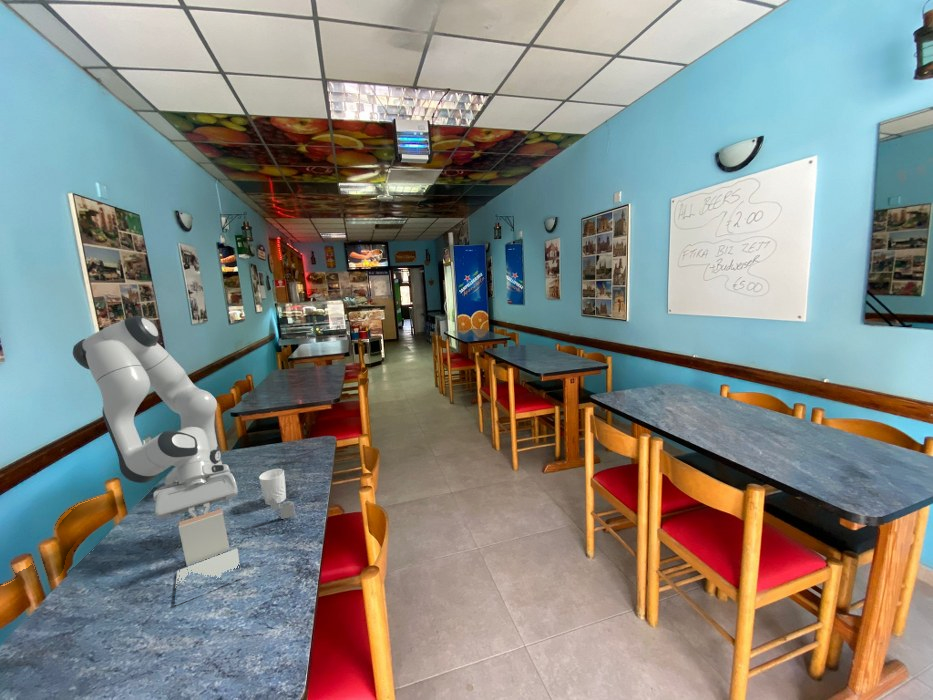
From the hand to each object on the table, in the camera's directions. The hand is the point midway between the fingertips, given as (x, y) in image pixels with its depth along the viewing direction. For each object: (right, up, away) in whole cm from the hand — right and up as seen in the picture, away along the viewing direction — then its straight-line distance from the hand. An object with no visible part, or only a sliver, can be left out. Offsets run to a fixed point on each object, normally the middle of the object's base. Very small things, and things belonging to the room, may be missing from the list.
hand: (200, 521), depth 111 cm
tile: (+4, -9, -3) cm, 10 cm away
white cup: (+10, -4, +25) cm, 27 cm away
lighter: (+18, -5, +13) cm, 23 cm away
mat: (+9, -10, -10) cm, 17 cm away
